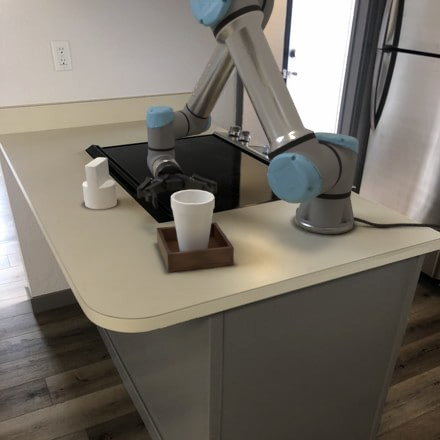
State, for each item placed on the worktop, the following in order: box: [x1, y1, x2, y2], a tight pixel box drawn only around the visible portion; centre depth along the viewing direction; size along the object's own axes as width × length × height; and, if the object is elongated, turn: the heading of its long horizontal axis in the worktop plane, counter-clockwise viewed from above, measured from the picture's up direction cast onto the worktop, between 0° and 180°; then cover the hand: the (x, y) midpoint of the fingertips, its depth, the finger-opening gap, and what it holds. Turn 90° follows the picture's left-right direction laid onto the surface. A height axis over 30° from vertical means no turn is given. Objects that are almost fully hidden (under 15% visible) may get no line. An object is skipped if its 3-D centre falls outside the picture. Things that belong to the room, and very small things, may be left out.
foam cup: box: [170, 190, 216, 252], centre depth 109 cm, size 10×9×13 cm
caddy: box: [156, 222, 235, 273], centre depth 111 cm, size 15×15×4 cm
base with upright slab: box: [82, 156, 118, 210], centre depth 136 cm, size 9×9×12 cm
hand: (184, 200), depth 115 cm, fingers open, 13 cm apart
